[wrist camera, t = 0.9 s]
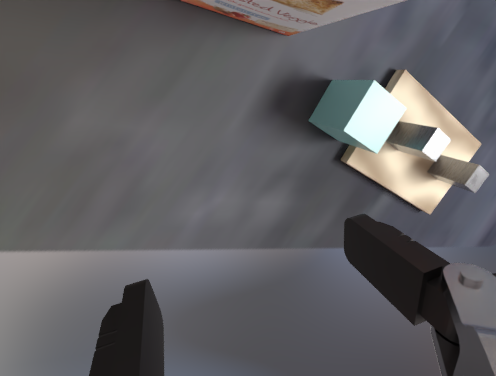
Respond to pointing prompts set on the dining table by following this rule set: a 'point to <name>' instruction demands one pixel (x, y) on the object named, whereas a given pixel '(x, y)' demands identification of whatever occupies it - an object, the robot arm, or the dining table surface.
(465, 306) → the robot arm
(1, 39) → the dining table surface
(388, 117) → the light blue cube
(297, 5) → the cracker box
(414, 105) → the birch board
